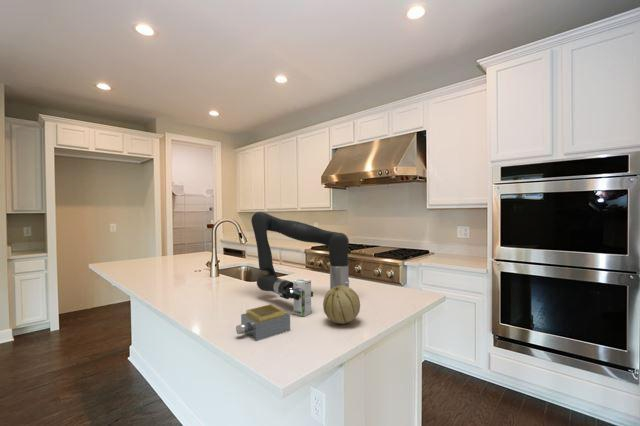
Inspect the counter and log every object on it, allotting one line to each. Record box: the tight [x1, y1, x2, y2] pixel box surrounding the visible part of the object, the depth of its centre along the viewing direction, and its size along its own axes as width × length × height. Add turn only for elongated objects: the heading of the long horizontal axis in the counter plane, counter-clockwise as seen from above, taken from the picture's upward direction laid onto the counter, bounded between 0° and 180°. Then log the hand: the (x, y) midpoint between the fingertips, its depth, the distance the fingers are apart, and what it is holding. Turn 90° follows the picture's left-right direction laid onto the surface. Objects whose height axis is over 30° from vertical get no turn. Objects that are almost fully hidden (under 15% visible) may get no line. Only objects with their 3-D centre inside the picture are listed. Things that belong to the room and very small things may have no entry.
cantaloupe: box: [322, 285, 361, 325], centre depth 122 cm, size 15×15×15 cm
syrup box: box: [292, 278, 312, 317], centre depth 132 cm, size 6×6×14 cm
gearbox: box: [235, 304, 291, 342], centre depth 113 cm, size 18×12×8 cm, turn 129°
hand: (305, 296), depth 130 cm, fingers closed on syrup box, 6 cm apart
